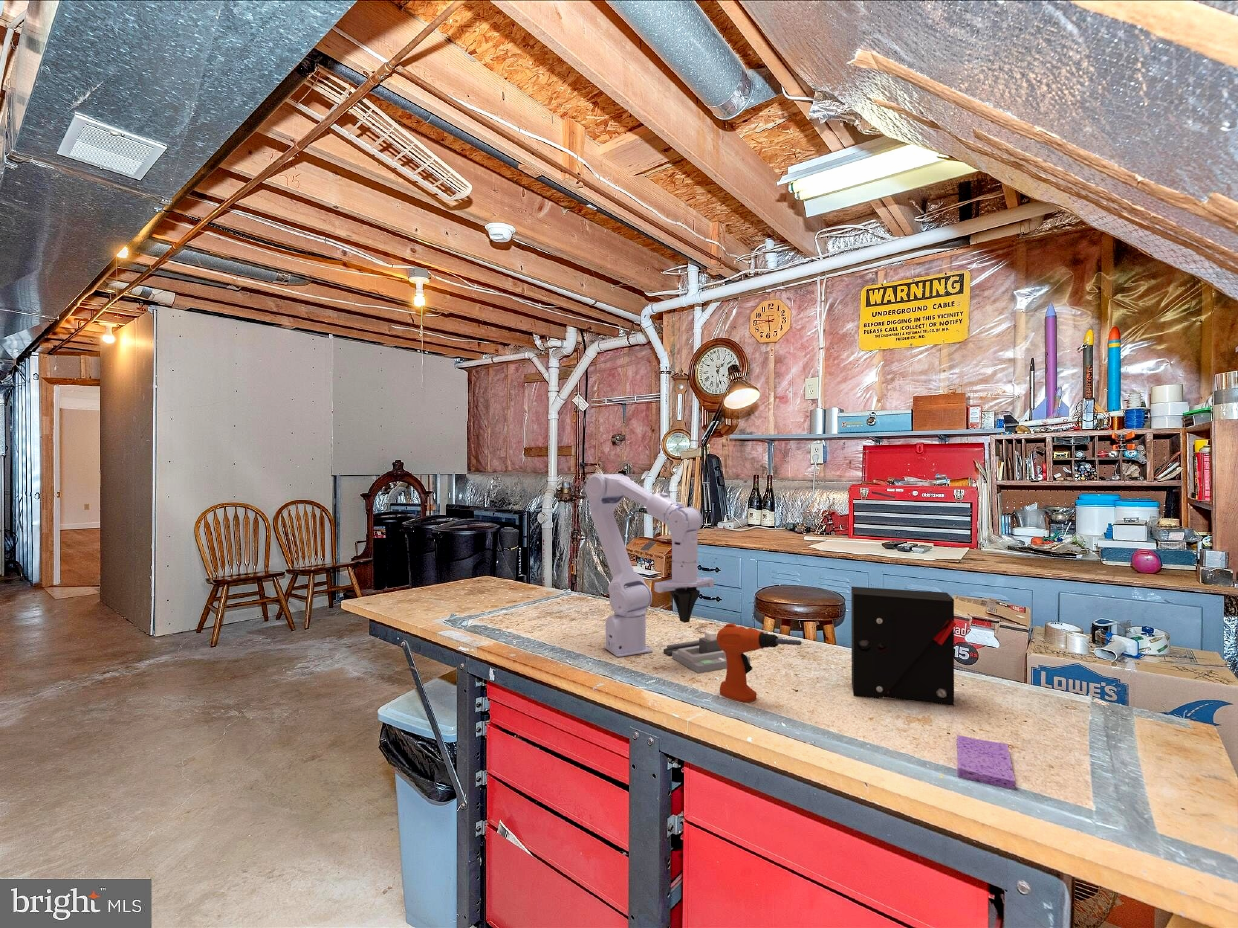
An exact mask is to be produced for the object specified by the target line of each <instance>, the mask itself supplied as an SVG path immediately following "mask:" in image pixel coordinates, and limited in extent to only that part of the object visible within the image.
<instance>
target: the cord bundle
mask: <svg viewBox="0 0 1238 928" xmlns="http://www.w3.org/2000/svg"><path fill="white" fill-rule="evenodd" d="M695 646H699V639H698V640H693V641H686V642H680V643H679V642H678V643H674V644H668V645H666V648H663V653H664V654H665V655H667V656H672V651H678V649H682V648H688V647H695Z"/></svg>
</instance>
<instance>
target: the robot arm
mask: <svg viewBox="0 0 1238 928" xmlns="http://www.w3.org/2000/svg"><path fill="white" fill-rule="evenodd" d="M584 492H585V494H586V498H587V499H588V502H589V509H590V510H589V511H590V516H591V518H592V521H593V524H594V527H595V528H594V529H595V530H596V533H597V538H598V539H599V542H600V544H601V545H600V546H601V548H602V551H603V554H604V556H605V559H606V562H607V565H608V569H609V571H610V574H611V577H612V580H611V581H610V583H609V585H608V587H607V591H608V594H609V605H610V608H611V609H612V611H613V613H614V614H613V615H610V616H608V617H607V618H606V621H605V645H604V649H606V650H607V651H609V652H610V653H611V654H612V655H614V656H616V657H617V658H620V657H626V656H631V655H639V654H646V653H651V652H653V648H651V647H649V646H647V638H646V637H647V634H646V633H647V632H646V631H647V630H646V625H647V623H646V622H647V621H646V617H647V616H646V615H647V613H648V608H649V607H650V606H651V605H652V602H653V593H652V591H651V588H650V587H649V586H648V585H647V584H646V582H645V580H644V577H643V576H642V575H640V574H639V573H637V572H636V571H635V570H634V568H633V565H632V562H631V559H630V557H629V554H628V551H627V548H626V546H625V543H624V539H623V537H622V534H621V532H620V529H619V526H618V524H617V520H616V517H615V516H614V512H615V509H616V508H618V506H619V505H620V503H621V502H622V501H623V499H624V497H626V498H628V499H629V500H632V501H633V502H636V503H638V504H640V505H642V506H643V507H645V509H646V512H647V514H648V515H649V516H651V517H652V518H654V519H656V520H658V521H659V522H661V523H663V524H664V525H666V527H667V529H668V531H669V533H670V539H671V579H667V580H663V581H657V582H656V581H655V582H654V592H656V593H659V594H661V593H664V592H669V594H670V595H671V597H672V599H673V602H674V604H675V606H676V610H677V613H678V618H679V621H680V622H682V623H684V624H686V623H690V621H691V616H692V612H693V609H694V607H695V604H696V602H697V600H698V598H699V597H700V595H701V593H700V592H701V591H700V590H699V589H700V588H714V586H715V585H714V584H715V582H714V581H715V578H712V577H709V576H708V577H707V576H706V577H698V531H699V530H701V527H702V525H703V515H702V513H701V512H700V511H699V510H698V509H697V508H696V507H695V506H687V507H685V505H684V503H683V502H680V501H675V500H674V499H672V498H671V497H669V494H668V493H666V492H656V493H654V494H653V493H651V492H650V491H648V490H647V489H645V488H644V487H642V486H641V485H639V484H638V483H636V482H634V481H633V480H632V479H631V478H630V477H629V476H626V475H624V474H623V473H614V474H613V473H612V474H611V473H610V474H609V473H608V474H607V473H605V474H604V473H603V474H602V473H601V474H599V473H593V474H591V475H590V476H589V478H588V480H587V482H586V485H585V488H584Z"/></svg>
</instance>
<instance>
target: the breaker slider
mask: <svg viewBox="0 0 1238 928" xmlns="http://www.w3.org/2000/svg"><path fill="white" fill-rule="evenodd" d="M698 640H699V653H700V654H704V653H710V652H716V651H722V649H721V648H720V647H719V645H718V643H717V633H716V632H715V631H714V632H713V631H712V630H708V631H707V630H706V631H704V636H703V637H699V639H698Z"/></svg>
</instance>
